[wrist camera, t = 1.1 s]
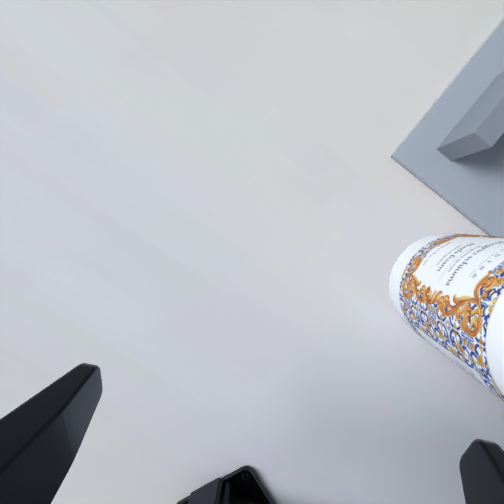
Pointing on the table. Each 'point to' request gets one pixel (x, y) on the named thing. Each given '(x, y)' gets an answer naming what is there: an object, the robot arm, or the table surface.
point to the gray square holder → (465, 140)
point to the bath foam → (456, 300)
